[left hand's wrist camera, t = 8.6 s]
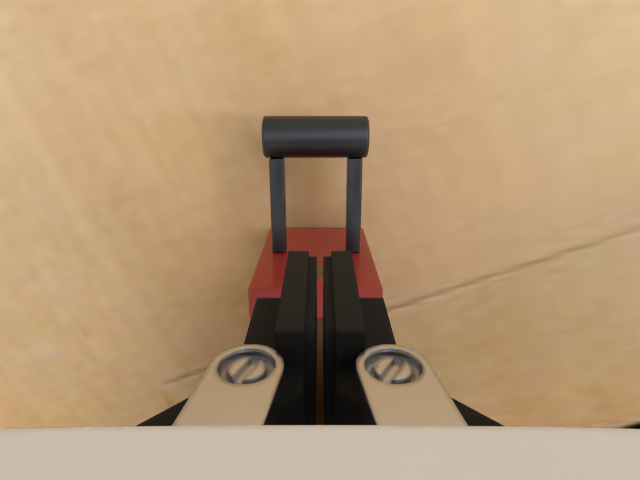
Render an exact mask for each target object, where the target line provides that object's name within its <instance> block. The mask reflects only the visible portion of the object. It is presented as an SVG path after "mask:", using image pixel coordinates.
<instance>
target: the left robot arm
mask: <svg viewBox="0 0 640 480" xmlns="http://www.w3.org/2000/svg"><path fill="white" fill-rule="evenodd" d="M316 402H317V256H309V251H288V257H287V262H286V268H285V274H284V280H283V286H282V291H281V297H280V298H257V300H256V303H255V306H254V310H253V314H252V317H251V321H250V325H249V328H248V332H247V335H246V339H245V343H244V345H240V346H235V347H232V348H230V349H227V350H225V351H223V352H222V353H220V354H219V355H217V356H216V357H215V358H214V359H213V361H212V362H211V363H210V365H209V366H208V368H207V370H206V371H205V373H204V375H203V376H202V378H201V379H200V381H199V383H198V384H197V386H196V388H195V389H194V391H193V392H192V394H191V396H190V397H189V398H187V399H185V400H184V401H182V402H180V403H178V404H176V405H174V406H172V407H171V408H169V409H167V410H165V411H163V412H161V413H159V414H157V415H156V416H154V417H152V418H150V419H148V420H146V421H144V422H143V423H141V424H139V425H137V426H128V427H56V428H26V429H0V480H640V429H616V428H581V427H517V426H503V425H501V424H499V423H497V422H496V421H494V420H492V419H490V418H488V417H486V416H484V415H483V414H481V413H479V412H477V411H475V410H473V409H471V408H469V407H468V406H466V405H464V404H462V403H460V402H458V401H456V400H455V399H453V398H451V397H450V396H449V394H448V392H447V391H446V389H445V388H444V386H443V384H442V383H441V381H440V379H439V378H438V376H437V375H436V373H435V371H434V370H433V368H432V366H431V365H430V363H429V362H428V361H427V359H426V358H425V357H424V356H423V355H421V354H420V353H418V352H417V351H415V350H413V349H410V348H408V347H405V346H400V345H396V343H395V339H394V335H393V332H392V328H391V325H390V321H389V317H388V314H387V310H386V306H385V303H384V300H383V298H360V297H359V291H358V286H357V280H356V274H355V268H354V262H353V257H352V251H331V256H323V402H324V425H316Z"/></svg>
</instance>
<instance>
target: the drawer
mask: <svg viewBox="0 0 640 480" xmlns="http://www.w3.org/2000/svg"><path fill="white" fill-rule="evenodd" d="M262 147H263V153H264V156H265V157H267V158H270V159H269V169H270V198H271V227H272V229H270V232H269V235H268V237H267V240H266V243H265V245H264V248H263V251H262V254H261V256H260V259H259V262H258V264H257V267H256V270H255V272H254V275H253V278H252V281H251V283H250V286H249V289H248V295H249V314H250V318H251V317H252V314H253V310H254V306H255V303H256V300H257V298H280V297H281V291H282V286H283V280H284V274H285V268H286V262H287V257H288V251H309V256H317V402H316V425H324V402H323V256H331V251H352V257H353V262H354V268H355V274H356V280H357V286H358V291H359V297H360V298H382V292H383V289H382V286H381V283H380V280H379V277H378V274H377V271H376V268H375V265H374V262H373V259H372V256H371V253H370V250H369V247H368V244H367V240H366V237H365V234H364V231H363V229H362V228H361V192H362V158H365V157H367V155H368V149H369V120H368V117H366V116H265V117H264V118H263V121H262ZM285 158H347V188H346V228H286V191H285Z"/></svg>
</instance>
